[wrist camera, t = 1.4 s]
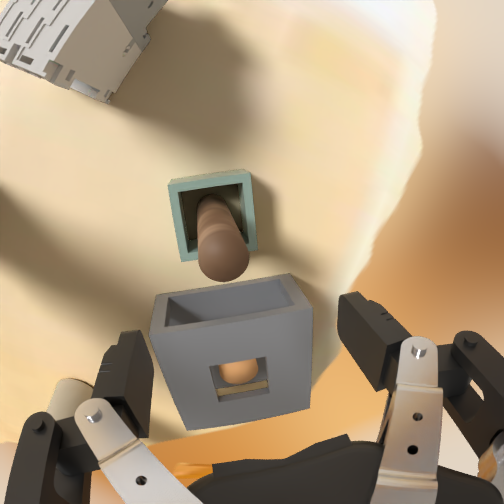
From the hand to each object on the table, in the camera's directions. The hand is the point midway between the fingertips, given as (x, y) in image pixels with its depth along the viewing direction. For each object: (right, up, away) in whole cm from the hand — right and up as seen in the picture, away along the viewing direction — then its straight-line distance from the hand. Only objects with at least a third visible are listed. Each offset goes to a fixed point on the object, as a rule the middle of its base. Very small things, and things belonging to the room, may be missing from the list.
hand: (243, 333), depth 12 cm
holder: (-4, +8, +20) cm, 22 cm away
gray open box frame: (-2, -8, +27) cm, 28 cm away
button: (-2, -9, +24) cm, 25 cm away
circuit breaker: (-14, +26, +12) cm, 32 cm away
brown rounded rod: (-4, +8, +20) cm, 22 cm away
